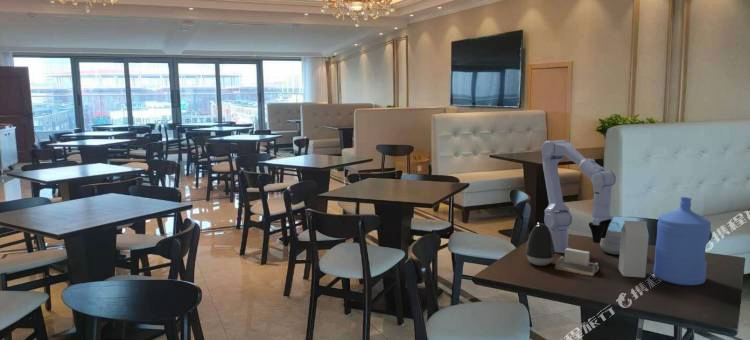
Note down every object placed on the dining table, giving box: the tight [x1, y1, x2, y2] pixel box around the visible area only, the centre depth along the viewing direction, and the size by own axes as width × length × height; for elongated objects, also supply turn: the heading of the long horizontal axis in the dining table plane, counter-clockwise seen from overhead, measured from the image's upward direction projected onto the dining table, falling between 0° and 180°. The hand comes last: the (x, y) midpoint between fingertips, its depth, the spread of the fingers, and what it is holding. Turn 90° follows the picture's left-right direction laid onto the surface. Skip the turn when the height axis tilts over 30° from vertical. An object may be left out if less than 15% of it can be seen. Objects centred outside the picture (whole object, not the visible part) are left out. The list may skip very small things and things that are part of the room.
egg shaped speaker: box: [525, 222, 556, 267], centre depth 197 cm, size 10×10×15 cm
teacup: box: [599, 230, 621, 256], centre depth 210 cm, size 14×11×8 cm
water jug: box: [652, 196, 712, 286], centre depth 181 cm, size 16×16×28 cm
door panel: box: [563, 247, 590, 266], centre depth 192 cm, size 2×8×6 cm, turn 54°
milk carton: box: [617, 220, 650, 279], centre depth 186 cm, size 7×7×19 cm
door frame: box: [554, 256, 600, 277], centre depth 192 cm, size 9×13×3 cm
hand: (599, 240), depth 195 cm, fingers open, 7 cm apart
